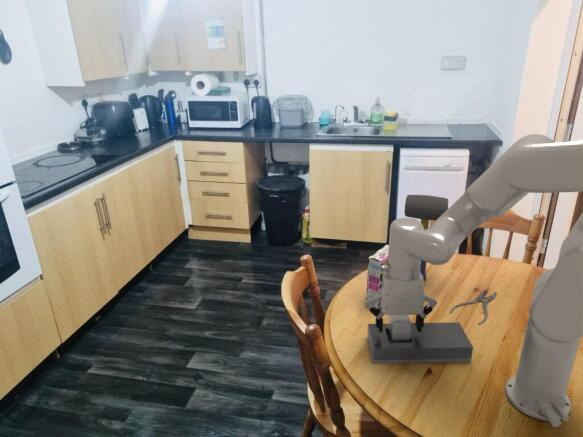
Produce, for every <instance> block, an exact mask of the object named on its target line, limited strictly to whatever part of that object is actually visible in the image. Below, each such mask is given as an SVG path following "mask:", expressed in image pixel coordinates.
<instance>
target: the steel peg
mask: <svg viewBox="0 0 583 437" xmlns="http://www.w3.org/2000/svg"><path fill="white" fill-rule="evenodd" d="M388 318H389V319H388V324H389V328H388V340H389V343H409V342H410V331H411V323H412V321H411V318H410V315H388Z"/></svg>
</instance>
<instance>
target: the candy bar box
mask: <svg viewBox="0 0 583 437" xmlns="http://www.w3.org/2000/svg"><path fill="white" fill-rule="evenodd" d="M388 252H389V244H385V245H384V246H382V247H381V248H380V249H378V250H377V251H375V252H374V253H373V254H372V255H370V256H369V257H368V262H367V264H368V265H367V277H366V278H367V280H366V293H365V294H366V298H365V301H366V300H367V299H369V298H372V297H374V296H376V295H378V294H380V291H381V285H382V280H383V276H384V273H385V271H382V269H381V266H382V265H386V263H387V261H388ZM379 305H380V302H377V303H375V304H373V306H374V307H375V308H377V307H378V306H379Z"/></svg>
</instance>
